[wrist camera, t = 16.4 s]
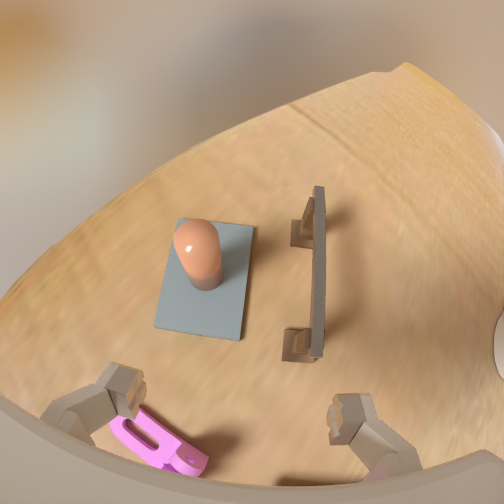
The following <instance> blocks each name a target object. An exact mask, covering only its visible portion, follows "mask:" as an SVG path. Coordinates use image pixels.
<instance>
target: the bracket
mask: <svg viewBox="0 0 504 504" xmlns="http://www.w3.org/2000/svg"><path fill="white" fill-rule="evenodd" d="M139 408H140V407H139ZM127 419H129V418H125V417H122V416H119V415H118V416H117V417H116V418H114V419H113V420H111V421H110V428H111V430H112V432H113V434H114V435H115V436H116V438H117V439H119V440H120V441H121V442H122V443H123V444H124V445H126V446H127V447H128V448H129V449H131V450H132V451H133V452H134V453H135V454H137V455H138V456H139V457H141V458H142V459H143V460H145V461H146V462H147V463H149V464H150V465H151V466H153V467H156V468H159V469H163V470H167V471H171V472H175V473H179V474H184V475H188V476H193V477H198V476H199V475H200V474H201V473H202V472H203V471H204V469H205V467H206V464H207V462H208V459H209V457H208V456H207V455H205V454H204V453H202V452H200V451H199V450H197V449H196V448H194V447H193V446H191V445H190V444H188V443H187V442H185V441H184V440H182V439H181V438H180V437H178V436H177V435H175V434H174V433H173V432H171V431H170V430H169V429H167V428H166V427H164V426H163V425H162V424H161V423H159V422H158V421H157V420H155V419H154V418H153V417H152V416H150V415H149V414H148V413H147V412H145V411H144V410H143V409H142V408H140V410H139V412H138V414H137V417H136V419H135V420H132V419H131V420H132V421H133V422H135V423H136V424H137V425H138V426H139V427H141V428H142V429H143V430H144V431H146V432H147V433H148V434H150V435H151V436H152V437H153V438H155V439H156V440H157V441H158V442H159V448H157V449H155V448H152V447H151V446H150V445H148V444H147V443H146V442H144V441H143V440H142V439H141V438H139V437H138V436H137V435H136V434H134V433H133V432H132V431H131V430H130V429H128V427H127V426H126V420H127Z"/></svg>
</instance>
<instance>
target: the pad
mask: <svg viewBox="0 0 504 504" xmlns="http://www.w3.org/2000/svg"><path fill="white" fill-rule="evenodd" d="M189 220H190V219H180V218H179V220H178V223H177V227H176V231H177V229H178V228H179V227H180V226H181V225H182V224H183V223H185V222H187V221H189ZM208 222H209V221H208ZM210 223H211V224H213V225H214V226H215V228H216V229H217V231H218V235H219V242H220V250H221V258H222V266H223V274H224V275H223V280H222V282H221V283H220V285H219V286H218V287H217V288H215V289H213V290H210V291H201V290H198V289H196V288H195V287H194V286H193V285H192V284H191V282H190V280H189V278H188V276H187V274H186V272H185V269H184V267H183V265H182V263H181V261H180V259H179V256H178V254H177V252H176V250H175V247H174V243H173V242H172V246H171V250H170V254H169V258H168V262H167V267H166V271H165V275H164V280H163V284H162V289H161V293H160V298H159V303H158V308H157V313H156V318H155V323H154V327H155V328H160V329H165V330H171V331H176V332H182V333H188V334H194V335H200V336H207V337H213V338H220V339H228V340H235V341H240V332H241V324H242V316H243V308H244V300H245V292H246V284H247V276H248V268H249V260H250V252H251V244H252V236H253V228H254V227H253V226H244V225H236V224H227V223H218V222H210ZM176 231H175V232H176ZM174 235H175V234H174ZM173 239H174V238H173Z"/></svg>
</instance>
